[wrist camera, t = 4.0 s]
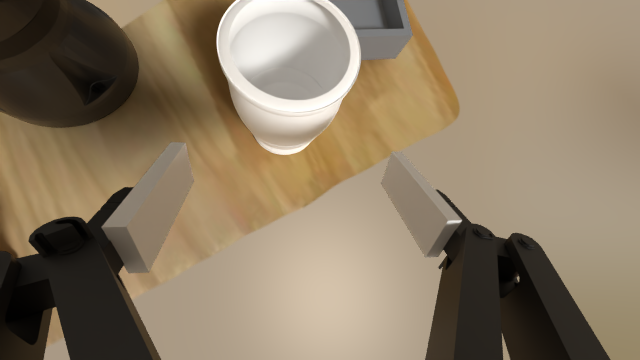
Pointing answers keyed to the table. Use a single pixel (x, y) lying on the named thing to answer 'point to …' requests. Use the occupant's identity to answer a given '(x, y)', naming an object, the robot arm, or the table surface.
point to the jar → (287, 67)
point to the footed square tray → (378, 26)
